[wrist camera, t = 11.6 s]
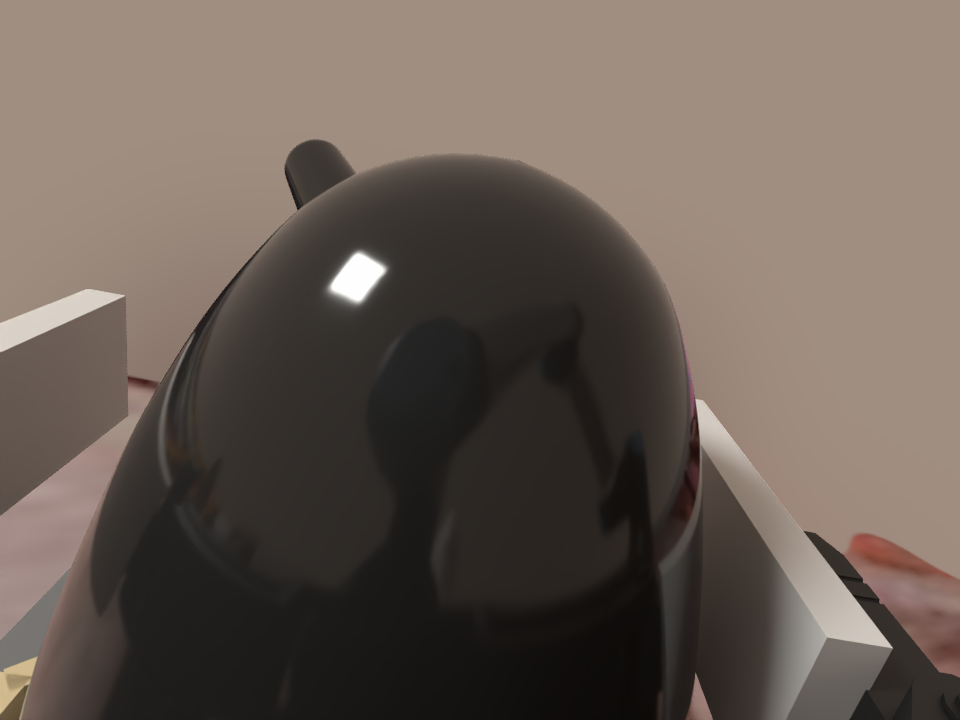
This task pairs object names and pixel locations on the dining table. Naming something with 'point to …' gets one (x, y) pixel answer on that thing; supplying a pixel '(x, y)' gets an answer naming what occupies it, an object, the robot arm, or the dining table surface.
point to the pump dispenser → (404, 474)
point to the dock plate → (24, 652)
